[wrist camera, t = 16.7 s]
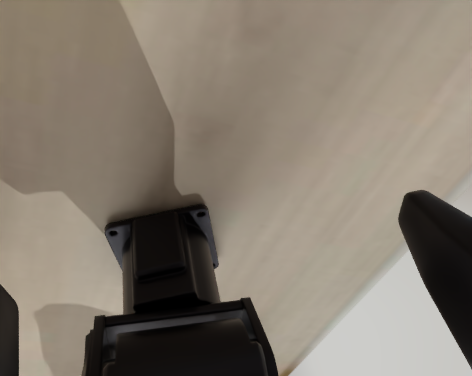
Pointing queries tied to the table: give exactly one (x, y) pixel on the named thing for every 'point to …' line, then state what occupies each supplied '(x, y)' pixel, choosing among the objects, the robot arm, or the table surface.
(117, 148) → the table surface
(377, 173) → the table surface
